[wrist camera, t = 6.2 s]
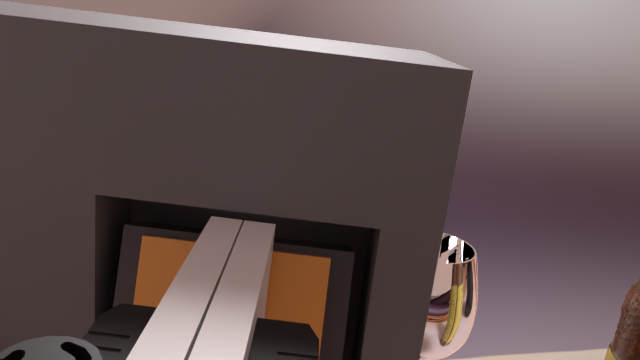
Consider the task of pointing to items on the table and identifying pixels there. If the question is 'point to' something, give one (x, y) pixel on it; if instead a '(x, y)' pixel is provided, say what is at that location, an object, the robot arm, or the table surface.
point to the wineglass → (451, 299)
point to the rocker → (284, 282)
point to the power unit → (218, 159)
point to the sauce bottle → (627, 328)
